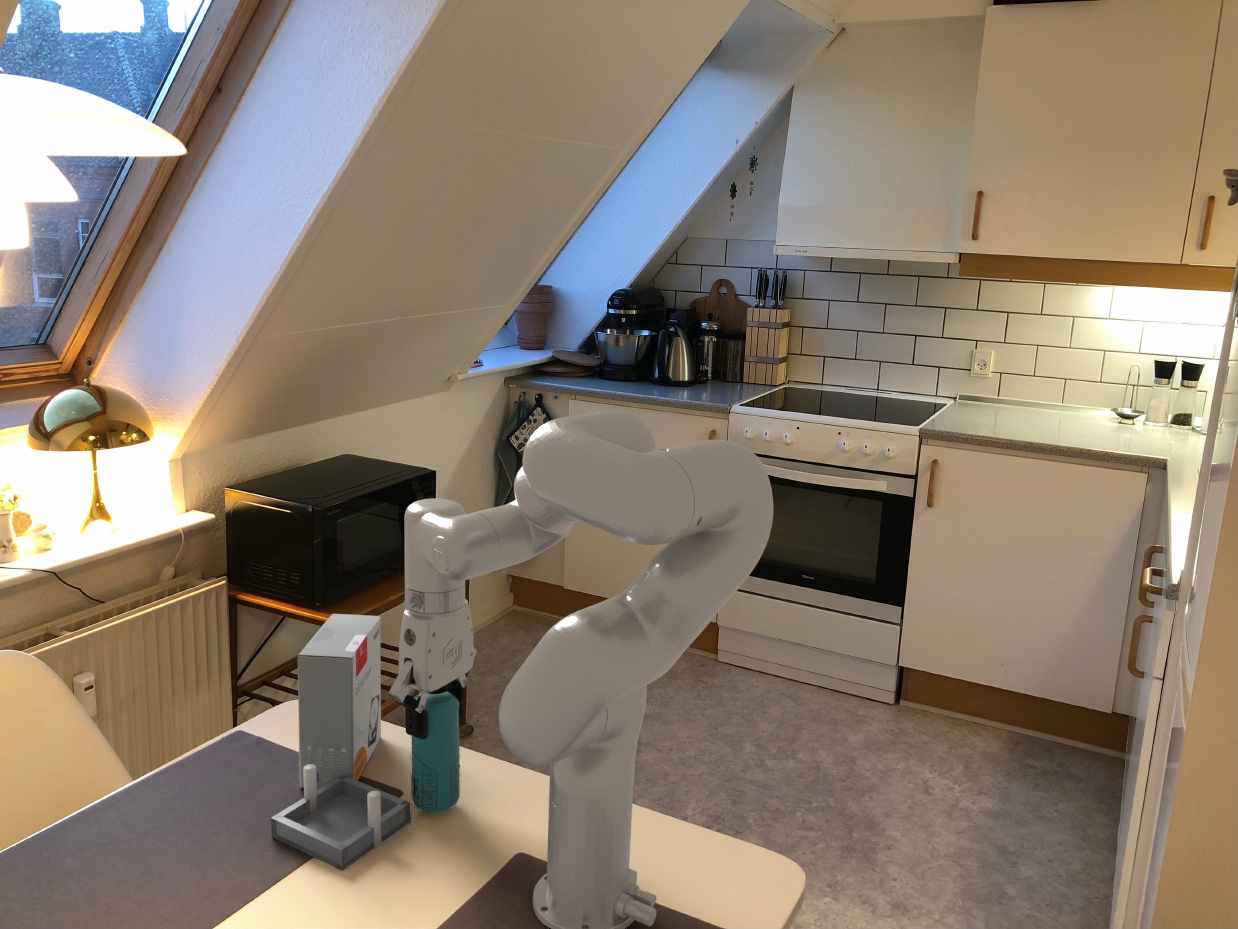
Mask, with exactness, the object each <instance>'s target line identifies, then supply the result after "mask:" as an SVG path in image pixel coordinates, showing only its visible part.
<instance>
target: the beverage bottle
mask: <svg viewBox="0 0 1238 929" xmlns="http://www.w3.org/2000/svg"><path fill="white" fill-rule="evenodd" d="M450 688H451V682H450V683H448V684H446V685H445V686H443V687H441V688H439V689H437V690H436V691H434V692H431V693H428V696H427V699H426V703H425V706H424V709H425V710H427V712H428V736H427V738H426V739H424V740H422V739H419V738H416V737H414V736H410V737H409V738H411V741H410V744H411V756H410V759H411V761H410V764H411V777H410V791H411V797H412V798H411V800H412V802H413V805H414V807H416V808H417V809H418V810H420V811H423V812H426V813H440V812H444V811H448V810H449V809H452V808H453V807H454V806H456V805H457V803H458V802H459V798H460V792H461V790H462V789H461V764H460V762H461V752H460V749H461V746H460V724H459V720H460V719H459V718H460V717H459V701H458V699H457V698H456V697H455V696H453V695H452V694H451V693H449V692H447V691H448V690H449V689H450ZM414 698H415V699H416V700H417V698H418V696H416V697H414Z"/></svg>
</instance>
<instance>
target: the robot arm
mask: <svg viewBox="0 0 1238 929" xmlns="http://www.w3.org/2000/svg"><path fill="white" fill-rule="evenodd" d="M770 481H771V480H770V478H769V475H768V472H767V470H766V468H765V466H764V465H763V463H762V461H761V460H760V458H759V456H758V455H756V454H755V452H753V451H752V450H751V449H750V448H748V447H746V446H745V445H743V444H740V443H739V442H735V441H732V440H726V439H705V440H697V441H691V442H688V443H683V444H679V445H674V446H670V447H666V448H662V449H657V450H656V444H655V438H654V436H653V432H652V431H651V429H650V428H649V427H648V426H647V424H646V423H645V422H644V421H643V420H642V419H641V418H639V417H637V416H636V415H634V414H632V413H631V412H627V411H623V410H616V409H614V410H613V409H608V410H600V411H593V412H589V413H588V412H587V413H583V414H576V415H570V416H565V417H559V418H554V419H551V420H549V421H547V422H545V423H543V424H542V425H540V426H539V427H538V428H537V429H535V430H534V431H533V433H532V434H531V435H530V436H529V438H528V440H527V442H526V444H525V447H524V450H523V454H522V466H521V467H520V468H519V470H518V471H517V473H516V475H515V478H514V482H513V492H514V497H515V500H512V501H511V502H508V503H507V504H503V505H500V506H499V505H498V506H495V507H490V508H487V509H482V510H478V511H474V512H470V513H467V514H466V511H465V509H464V507H463V506H462V505H461V503H458V502H457V501H455V500H452V499H447V498H437V497H435V498H424V499H420V500H416V501H413V502H412V503H411V504H409V505H408V506H407V507H406V510H405V513H404V600H403V607H404V609H405V610H404V612H403V613H402V614H403V615H402V620H401V626H400V634H399V635H400V636H399V642H398V643H399V647H398V675H397V676H396V679H395V680H394V682H393V684H392V685H391V687H390V689H389V695H390V696H391V697H392V698H394V699H395V700H396V702H397V703H398V704H400V705H401V707H402V708H404V709H405V714H404V716H405V717H404V718H405V733H406V735H408V736H410V737H412V736H414V737H416V738H419V739H422V740H424V739H426V738H427V736H428V712H427V710H425V709H424V706H425V703H426V699H427V696H428V693H431V692H434V691H436V690H437V689H439V688H441V687H443V686H445V685H446V684H448V683H450V682H451V688H450V689H449V690H448V691H447V692H449V693H451V694H452V695H453V696H455V697H456V698H457V699H458V701H459V718H461V717H462V716H464V715H465V688H466V687H467V685H468V679H467V677H468V675H469V673H470V671H471V669H472V668H473V666H474V660H475V658H476V655H477V652H478V651H477V650H478V649H476V647H474V643H475V642H474V629H473V621H472V614H471V608H470V605H469V602H468V600H467V599H466V581H467V580H470V579H474V578H477V577H480V576H484V575H486V574H487V575H488V574H489V573H493V572H496V571H499V570H502V569H505V568H508V567H513V566H516V565H519V564H521V563H524V562H527V561H529V560H531V559H533V558H534V557H536V556H538V555H540V554H542V553H543V552H544V551H546V550H548V549H549V548H551V547H553V546H554V545H556V544H558V543H559V542H561V541H562V540H563V539H564V538H566V537H567V536H568V534H569V533H570V532H571V530H572V528H573V526H574V525H575V524H576V523H577V522H579V521H581V522H583V523H585V524H588V525H590V526H592V527H595V528H597V529H599V530H602V531H604V532H606V533H607V534H610V535H612V536H614V537H617V538H618V539H622V540H624V541H626V542H630V543H632V544H633V543H634V544H637V545H644V546H656V545H657V546H658V545H659V546H660V545H663V546H662V547H661V548H660V549H659V550H658V551H657V552H656V553H655V554H654V555H653V556H652V557H651V558H650V560H649V561H648V563H647V564H646V565H645V567H644V569H643V570H642V571H641V572H640V573H639V574H638V575H637V577H636V578H635V579H634V580H633V581H632V582H631V583H630V584H629V585H628V586H627V587H626V588H625V589H624V590H623V591H622V592H620V593H618V594H616V595H614V596H611V597H609V598H607V599H605V600H603V601H600V602H598V603H595V604H593V605H590V606H588V607H584V608H583V609H579V610H577V611H575V612H572V613H570V614H568V615H567V616H565V617H563V618H561V619H560V620H559V621H558V622H557V623H555V624H554V625H552V627H551V628H549V630H547V631H546V633H544V635H543V637H542V638H541V639H540V641H539V642H537V644H536V646H534V648H533V649H532V650H531V652H530V654H529V655H527V656H528V657H526V659H525V661H524V662H523V663H522V665H520V667H519V669H518V670H517V671H516V672H515V674H514V675H513V676H512V678H511V679H510V680H509V682H508V684H507V686H506V687H505V689H504V691H503V694H502V696H501V698H500V703H499V706H498V716H497V719H498V728H499V733H500V736H501V739H502V741H503V743H504V745H505V747H506V748H507V749H508V751H509V752H510V753H511V754H512V755H513V756H514V757H515V758H517V759H519V761H520V762H521V761H522V762H524V763H526V764H529V765H533V766H539V767H540V766H541V767H542V766H550V768H549V787H548V788H549V790H548V792H549V793H548V821H547V824H548V826H547V827H548V829H547V853H546V854H547V855H546V856H547V857H546V858H547V860H546V873H544V875H543V876H541V878H539V880H538V881H537V883H536V884H535V886H534V887H533V892H532V908H533V909H532V910H533V911H534V914H535V915H536V917H537V919H538V920H539V921H540V922H541V924H542V925H544V926H545V925H546V926H548V927H550V928H551V929H624V928H626V927H627V926H628V927H629V925H630V924H631V923H632V922H633V921H634V922H635V921H636V922H638V923H640V924H643V925H645V926H647V927H651V926H652V925H653V924H654V923H655V920H656V918H657V917H656V916H657V909H656V908H655V907H654V906H655V904H656V902H657V895H656V894H654V893H652V892H649V891H645V890H642V889H640V887H639V885H637V884H638V883H637V878H638V871H637V870H634V869H631V868H630V859H631V858H630V856H631V855H630V854H631V839H632V837H631V835H632V818H633V817H632V816H633V799H634V787H635V786H634V785H635V784H634V783H635V769H636V768H635V766H636V765H635V764H636V755H637V748H638V742H639V741H638V740H639V738H640V732H641V729H642V726H643V725H642V724H643V721H644V716H645V711H646V707H647V699H648V697H647V696H648V694H647V693H648V691H647V690H648V689H647V688H648V686H647V685H649V684H651V683H653V682H655V681H657V680H658V679H659V678H661V677H662V676H664V675H665V674H667V672H669V671H670V669H672V667H673V666H674V665H675V664H676V663H677V661H679V659H680V657H681V656H682V655H683V654H684V653H685V652H686V650H687V649H688V648H689V647H690V646H691V644H693V643H694V641H695V640H696V639H697V638H698V637H699V635H701V633H702V632H703V631H704V630H705V629H706V628H707V627H708V625H709V624H710V623H711V622H712V620H713V618H714V617H716V615H717V614H718V613H719V611H721V609H722V608H724V606H725V605H726V604H727V602H728V601H730V600H731V598H732V597H733V595H735V594H736V592H737V591H738V590H739V589H740V587H741V586H742V585H743V584H744V583H745V581H746V580H747V579H748V578H749V577H750V575H751V573H752V572H753V570H754V569H755V567H756V566H757V565H758V563H759V561H760V559H761V557H762V556H763V553H764V551H765V549H766V547H767V544H768V542H769V538H770V535H771V531H772V525H773V521H774V520H773V519H774V499H773V498H774V497H773V491H772V490H773V489H772V486H771V482H770ZM415 691H418V695H417V697H418V698H417V697H414V694H415ZM415 698H417V700H416V699H415ZM634 922H633V923H634ZM633 923H632V924H633ZM632 924H631V925H632ZM631 925H630V926H631ZM546 926H545V927H546ZM548 927H547V928H548ZM628 927H627V928H628ZM627 928H626V929H627Z"/></svg>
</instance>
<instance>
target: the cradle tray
mask: <svg viewBox="0 0 1238 929" xmlns="http://www.w3.org/2000/svg"><path fill="white" fill-rule="evenodd" d="M303 773H304V788H303V794H304V795H303V798H301V799H300V800H298V801H296V802H294V803H292V804H291V805H288V807H286V808H285V809H283V810H281V811H280V812H277V814H275V815H273V816H271V817H270V825H271V826H270V827H271V828H270V829H271V830H270V832H271V838H272V837H274V838H277V839H278V840H277V841H279V840H280V841H279V842H281V841H283V842H285V843H286V845H287V844H288V846H289V845H291V846H293V847H295V848H296V849H295V848H294V849H295V850H297V849H299V850H300V852H302V853H304V854H305V855H309V856H310V857H312V858H314V859H317V860H319V861H320V862H323V863H325V864H327V865H328V866H331V867H334V868H335V869H337V870H340V871H344V870H345V869H347V868H348V867H349V866H351V865H352V864H354V863H355V862H356V861H358V860H360V859H361V858H362V857H364V856H365V855H366V854H367V853H369V852H371V851H372V850H373V849H375V848H378V847H381V845H382V843H383V842H384V841H385V840H387V839H389V838H390V837H391V836H393V835H394V834H395V833H397V832H399V831H400V830H401V829H402V828H404V827H406V826H407V825H408V824H409V823H411V821H412V820H411V816H412V815H411V814H412V813H411V811H412V810H411V806H412V804H411V802H410V801H407V800H404V799H403V798H400V797H398V796H396V795H393V794H391V793H389V792H386V791H383V790H381V789H378V788H376V787H373V786H372V785H369V784H367V783H364V782H361V781H359V780H358V781H357V780H354V779H352V778H350V777H347V776H345V775H341V776H339V777H337V778H336V779H334V780H332V781H331V782H329V783H327V784H326V785H324V786H322V787H321V788H317V776H316V765H313V764H309V765H306V766H304V768H303ZM274 838H273V839H274ZM283 842H282V843H283ZM285 843H284V844H285ZM291 846H290V847H291ZM293 847H292V848H293ZM299 850H298V851H299Z"/></svg>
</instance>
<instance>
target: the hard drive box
mask: <svg viewBox="0 0 1238 929" xmlns="http://www.w3.org/2000/svg"><path fill="white" fill-rule="evenodd" d="M381 674H382V673H381V616H379V615H369V614H368V615H364V614H346V613H343V614H342V613H332V614H331V615H330V616H329V617H328V618H327V619H326V621H325V622H324V623H323V624H322V625H321V627H320V628H319V629H318V630H317V632H316V633H315V634H314V635H313V636H312V637H311V639H310V640H309V641H308V643H306V645H305V646H304V647H303V648H302V650H300V652H299V653H298V655H297V687H298V688H297V690H298V691H297V692H298V694H297V695H298V697H297V698H298V699H297V700H298V756H299V758H298V759H299V760H298V768H299V769H298V772H299V773H298V774H299V778H298V779H299V787H300V788H301V789H302V788H303V789H304V773H303V768H304V766H306V765H309V764H313V765H316V776H317V789H319V788H321V787H322V786H324V785H326V784H327V783H329V782H331V781H332V780H334V779H336V778H337V777H339V776H341V775H345V776H347V777H350V778H352V779H354V780H357V781H359V779H361V778H360V777H361V776H362V775H363V772H364V770H365V767H366V766H367V764H368V762H369V760H370V758H371V757H372V755H373V753H374V751H375V750H376V748H377V745H378V743H379V741H380V739H381V738H382V732H381V731H382V710H381V709H382V705H381V704H382V703H381V702H382V698H381V695H382V694H381V690H382V689H381V688H382V687H381V682H382V679H381Z"/></svg>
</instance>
